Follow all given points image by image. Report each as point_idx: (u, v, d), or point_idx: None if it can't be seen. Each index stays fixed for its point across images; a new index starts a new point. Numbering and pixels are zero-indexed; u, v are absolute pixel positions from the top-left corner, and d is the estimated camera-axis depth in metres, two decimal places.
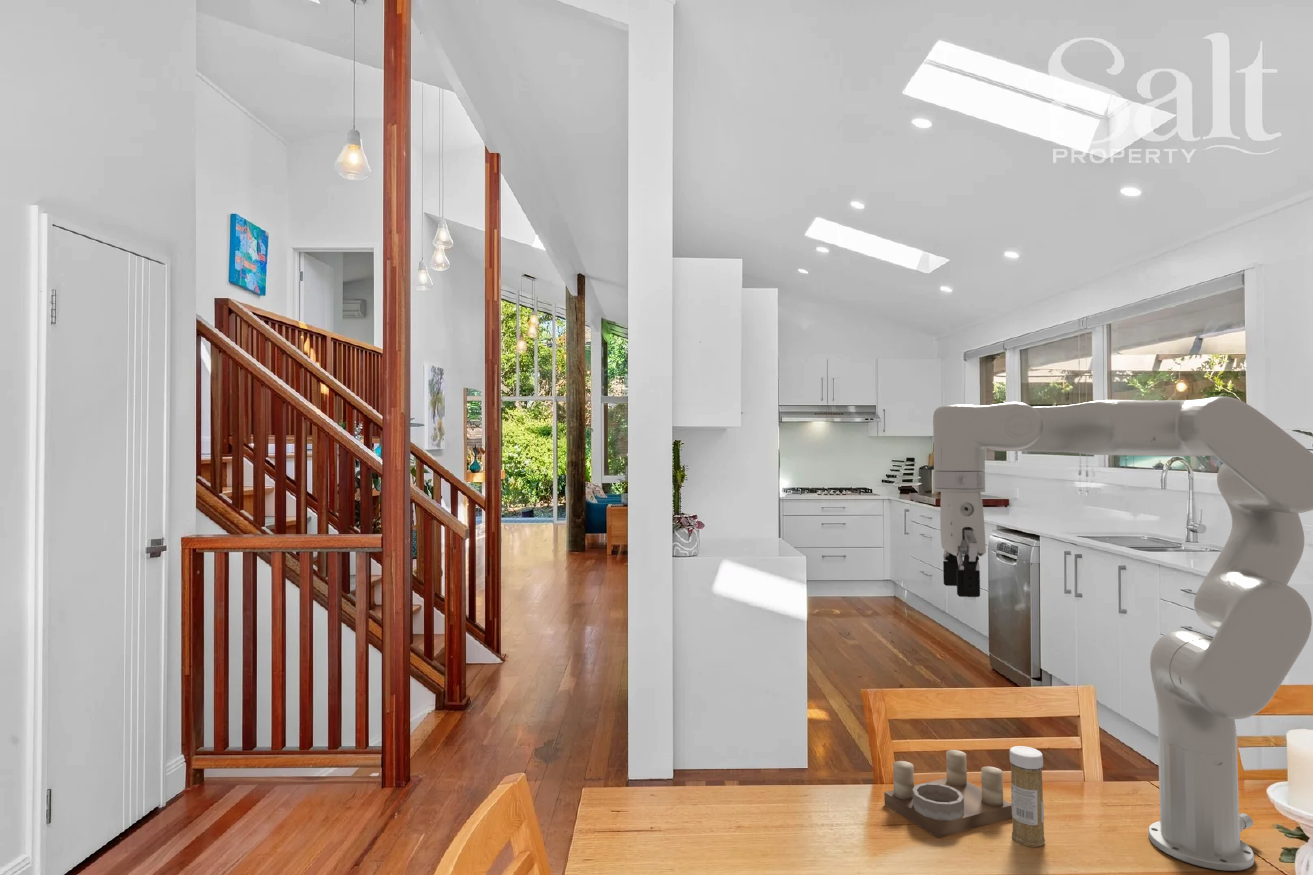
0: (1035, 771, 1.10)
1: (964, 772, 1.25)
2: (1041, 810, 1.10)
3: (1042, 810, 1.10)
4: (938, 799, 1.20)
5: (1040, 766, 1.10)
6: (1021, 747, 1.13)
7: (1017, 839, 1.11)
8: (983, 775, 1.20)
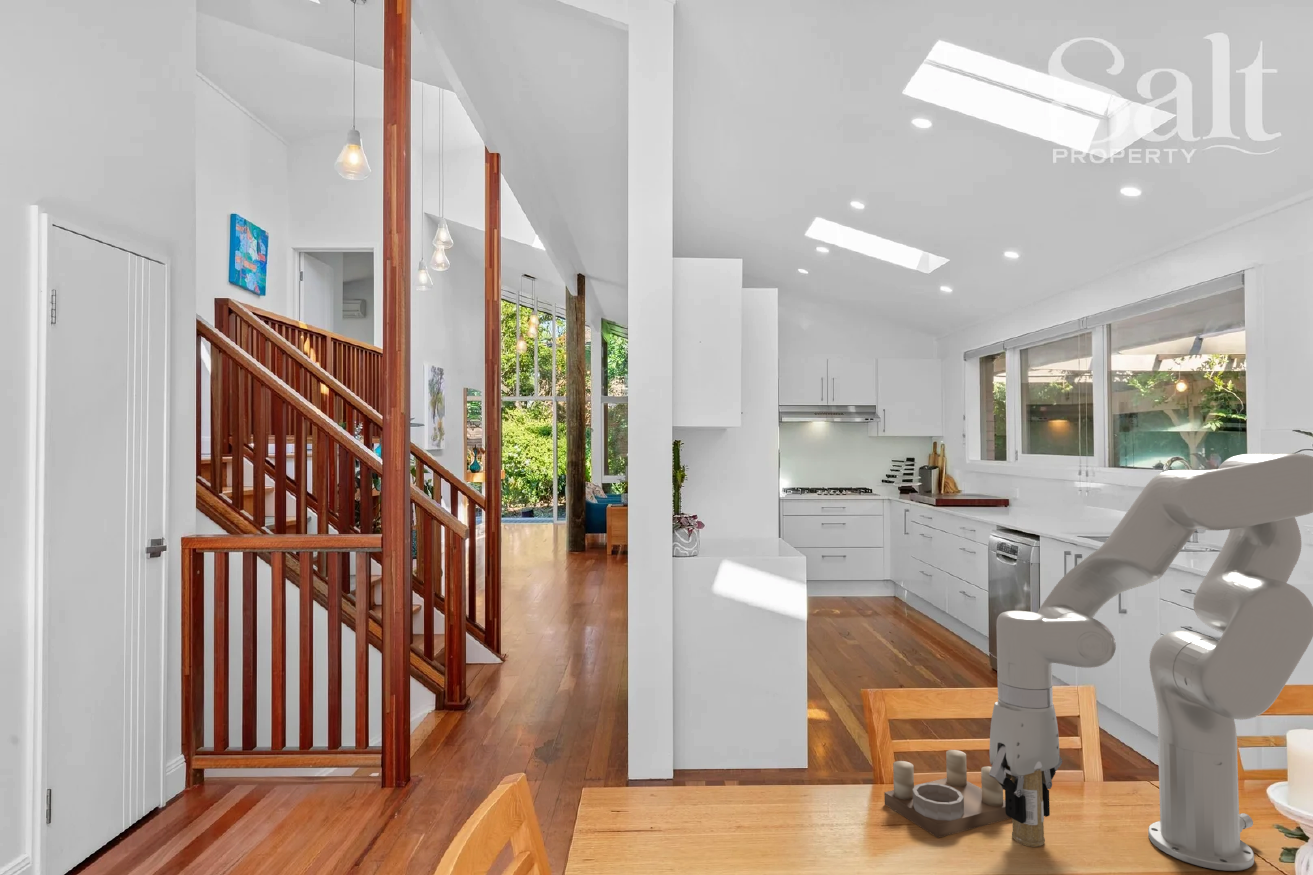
0: (1034, 771, 1.10)
1: (964, 772, 1.25)
2: (1041, 810, 1.10)
3: (1042, 810, 1.10)
4: (938, 799, 1.20)
5: (1040, 766, 1.10)
6: None
7: (1017, 839, 1.11)
8: (983, 775, 1.20)
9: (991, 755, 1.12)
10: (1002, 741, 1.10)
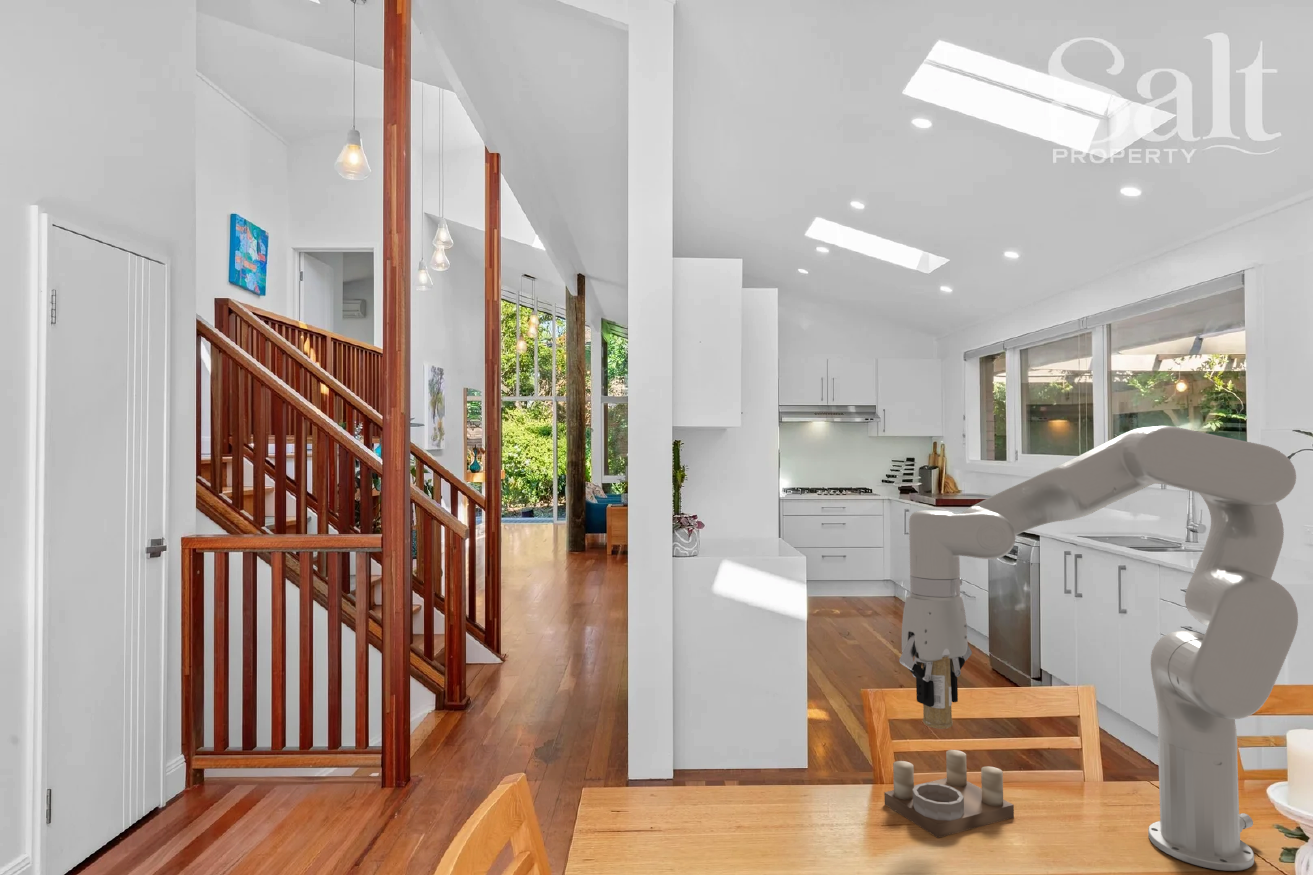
0: (942, 657, 1.16)
1: (964, 772, 1.25)
2: (948, 694, 1.16)
3: (949, 695, 1.16)
4: (938, 799, 1.20)
5: (947, 653, 1.16)
6: None
7: (926, 723, 1.17)
8: (983, 775, 1.20)
9: (903, 644, 1.18)
10: (912, 629, 1.16)
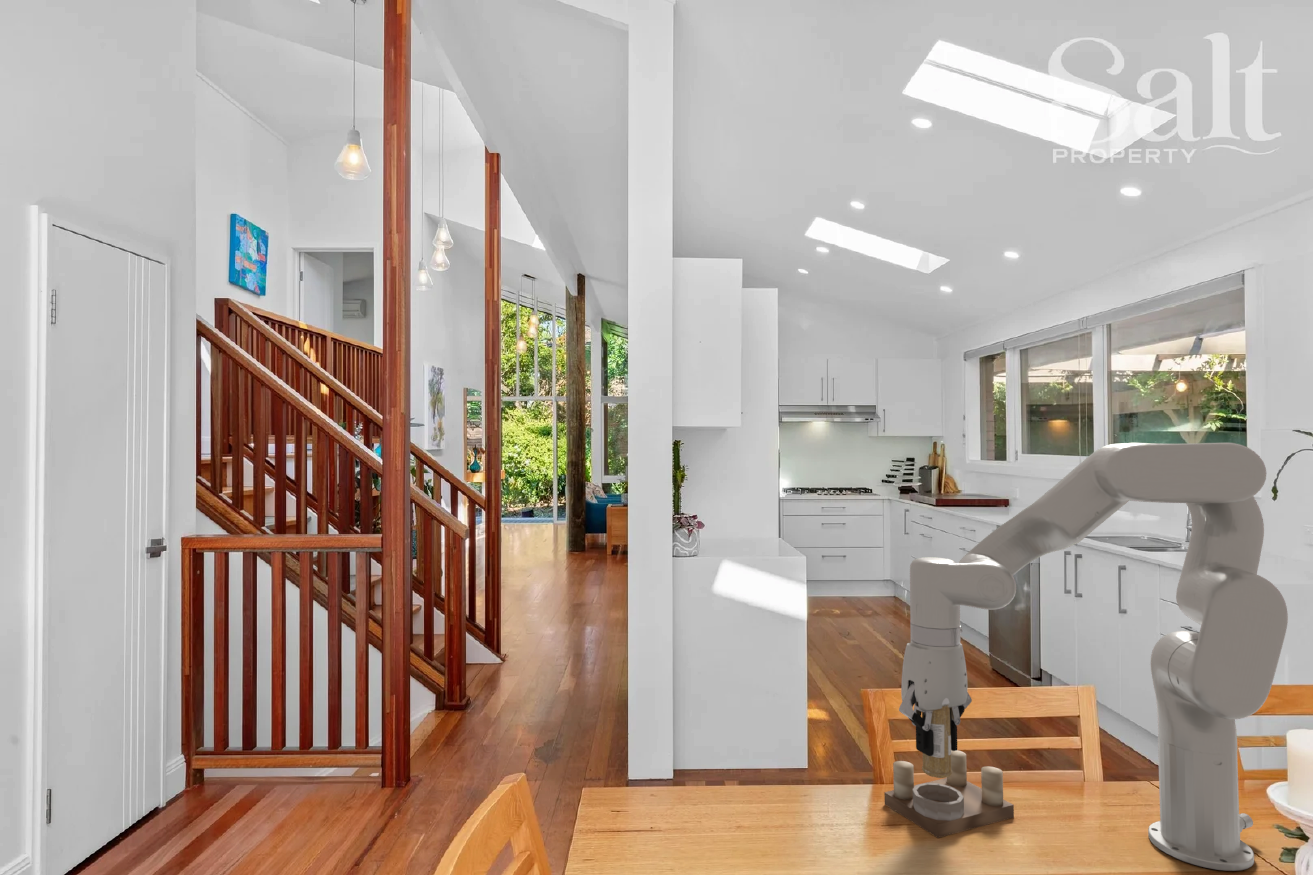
0: (942, 707, 1.16)
1: (964, 772, 1.25)
2: (948, 744, 1.16)
3: (949, 744, 1.16)
4: (938, 799, 1.20)
5: (947, 702, 1.16)
6: None
7: (926, 771, 1.17)
8: (983, 775, 1.20)
9: (902, 693, 1.18)
10: (911, 678, 1.16)
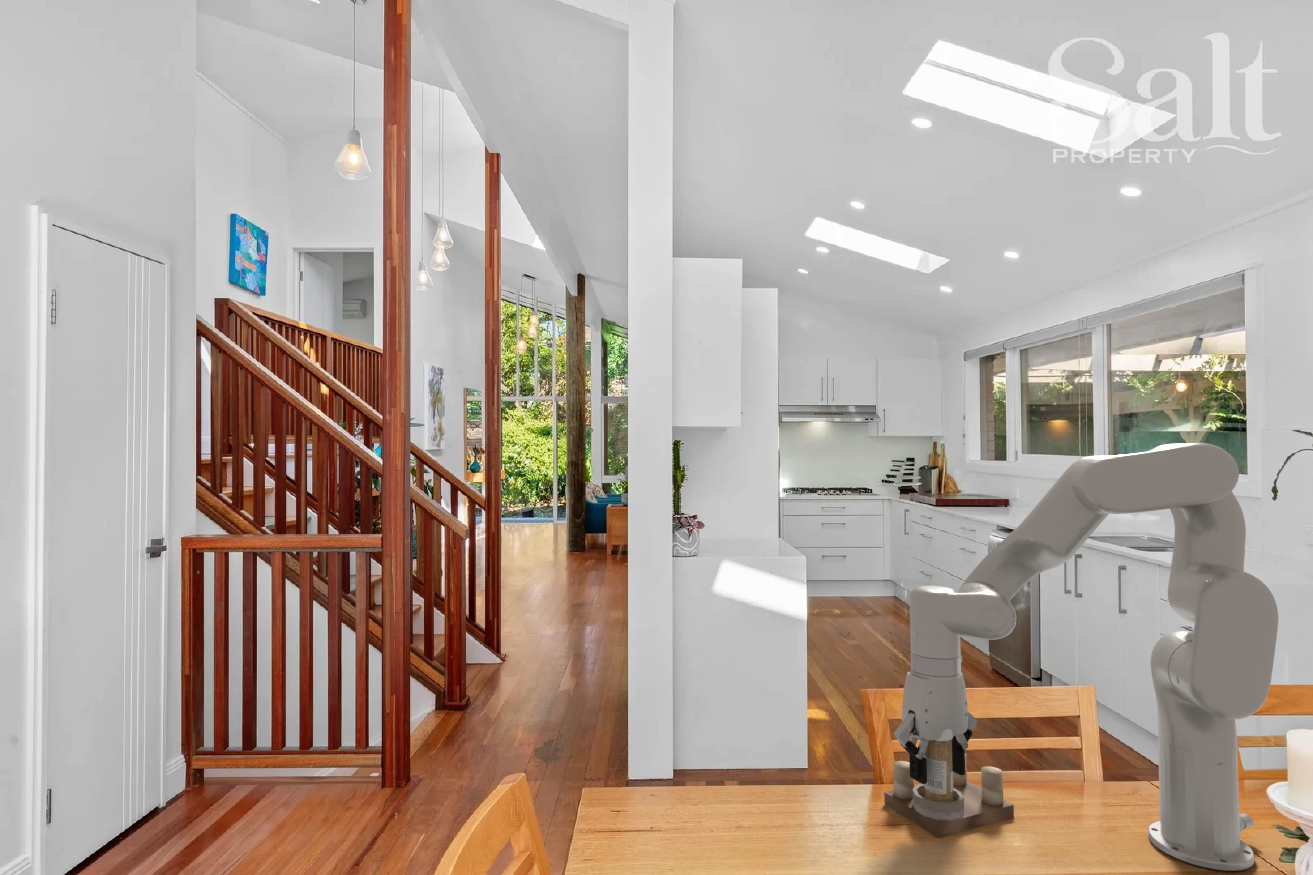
0: (944, 743, 1.15)
1: None
2: (950, 780, 1.16)
3: (951, 780, 1.16)
4: None
5: (949, 738, 1.16)
6: None
7: None
8: (983, 775, 1.20)
9: (903, 722, 1.17)
10: (912, 708, 1.16)
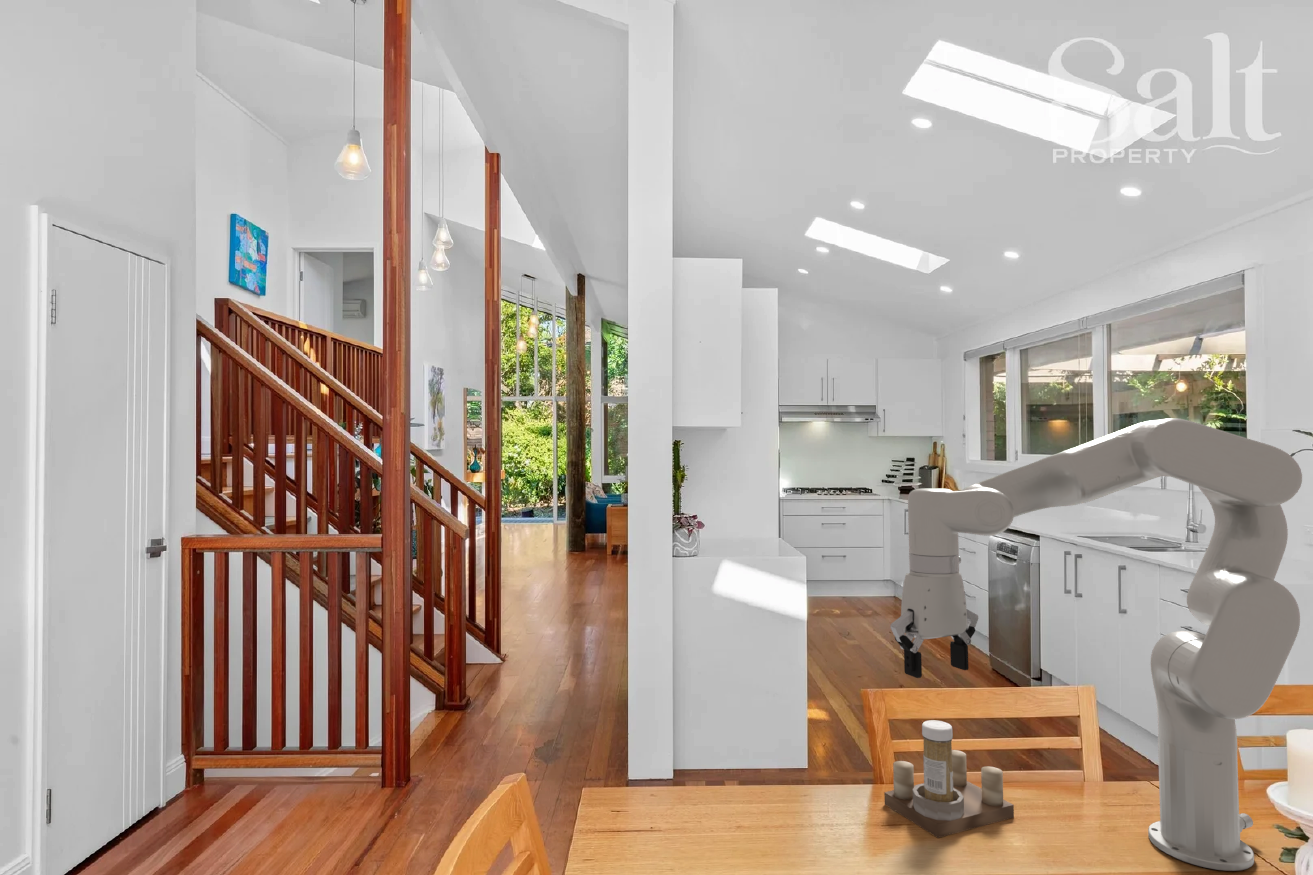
0: (944, 743, 1.15)
1: (964, 772, 1.25)
2: (950, 780, 1.16)
3: (951, 780, 1.16)
4: None
5: (949, 738, 1.16)
6: (933, 721, 1.19)
7: None
8: (983, 775, 1.20)
9: None
10: (911, 607, 1.16)
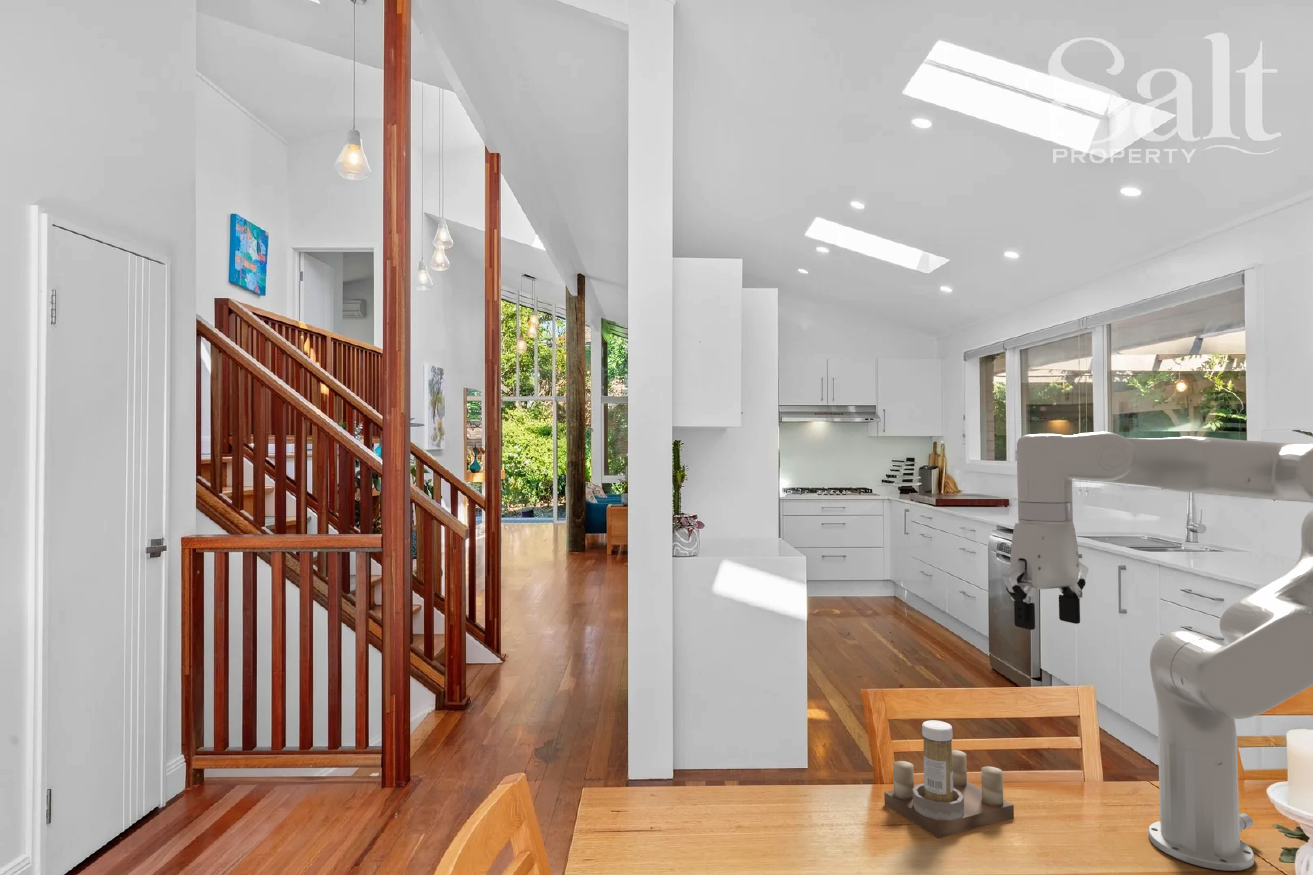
0: (944, 743, 1.15)
1: (964, 772, 1.25)
2: (950, 780, 1.16)
3: (951, 780, 1.16)
4: None
5: (949, 738, 1.16)
6: (933, 721, 1.19)
7: None
8: (983, 775, 1.20)
9: None
10: (1023, 556, 1.11)
